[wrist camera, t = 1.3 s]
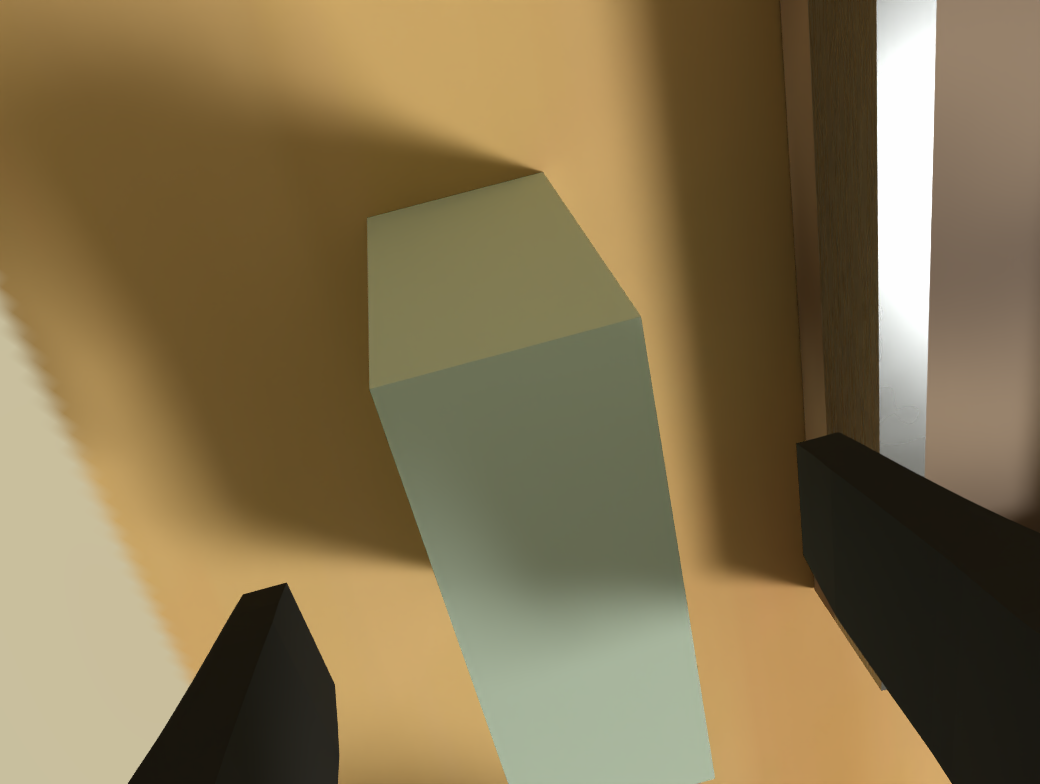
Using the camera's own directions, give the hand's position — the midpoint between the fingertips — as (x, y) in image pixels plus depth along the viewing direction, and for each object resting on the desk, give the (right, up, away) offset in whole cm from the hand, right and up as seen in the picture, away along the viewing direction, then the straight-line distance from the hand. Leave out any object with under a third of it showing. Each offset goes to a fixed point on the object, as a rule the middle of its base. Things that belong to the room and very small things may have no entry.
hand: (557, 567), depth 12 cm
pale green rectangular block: (-1, +2, +4) cm, 5 cm away
